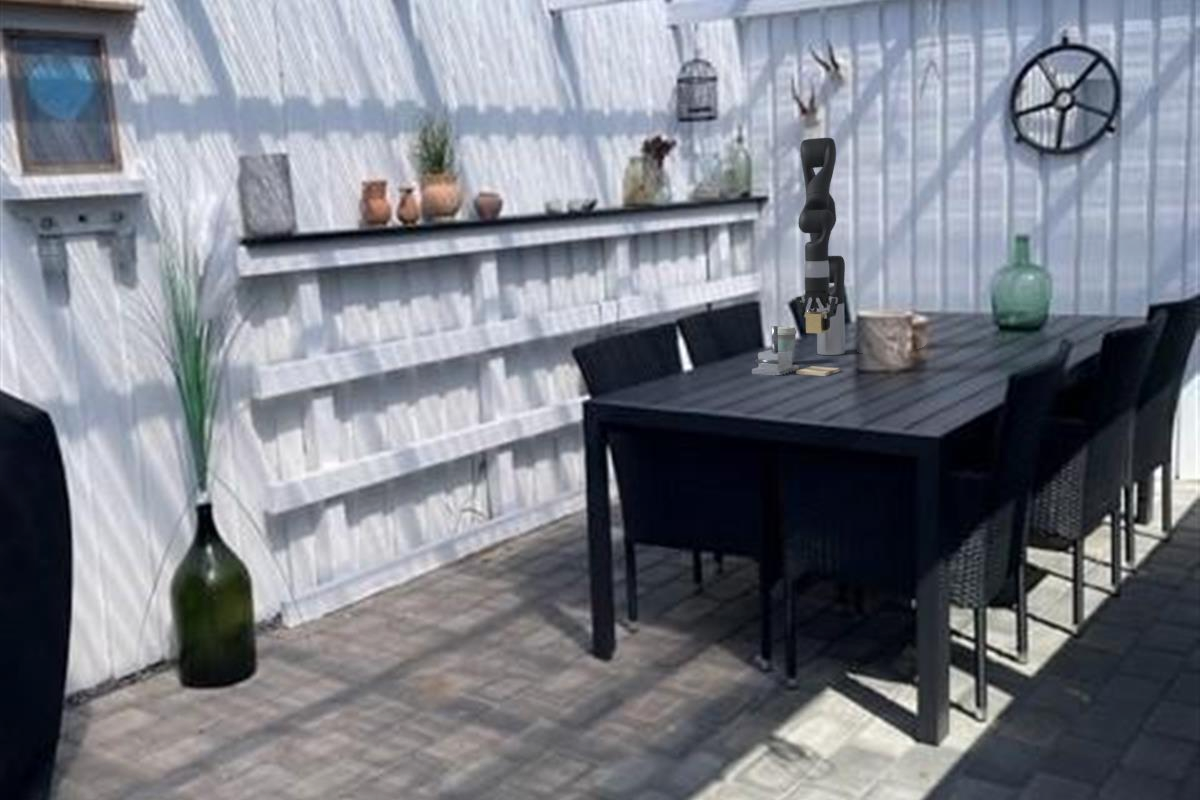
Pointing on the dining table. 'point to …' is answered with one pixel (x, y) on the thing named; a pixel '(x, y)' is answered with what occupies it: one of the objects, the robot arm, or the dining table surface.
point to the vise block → (774, 359)
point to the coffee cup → (786, 338)
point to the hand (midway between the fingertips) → (817, 329)
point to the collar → (814, 323)
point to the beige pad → (818, 371)
